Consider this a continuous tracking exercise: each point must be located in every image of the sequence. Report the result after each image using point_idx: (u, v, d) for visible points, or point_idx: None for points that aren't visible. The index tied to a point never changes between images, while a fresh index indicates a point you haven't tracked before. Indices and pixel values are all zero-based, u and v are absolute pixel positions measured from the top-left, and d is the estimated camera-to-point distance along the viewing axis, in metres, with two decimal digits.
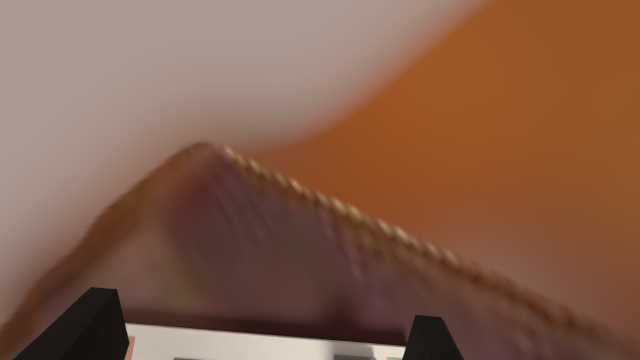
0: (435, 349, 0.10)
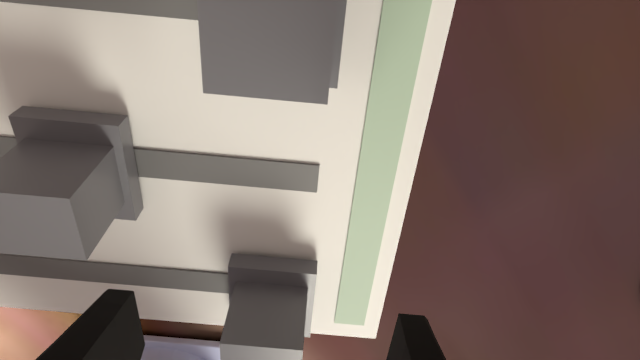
0: (416, 347, 0.10)
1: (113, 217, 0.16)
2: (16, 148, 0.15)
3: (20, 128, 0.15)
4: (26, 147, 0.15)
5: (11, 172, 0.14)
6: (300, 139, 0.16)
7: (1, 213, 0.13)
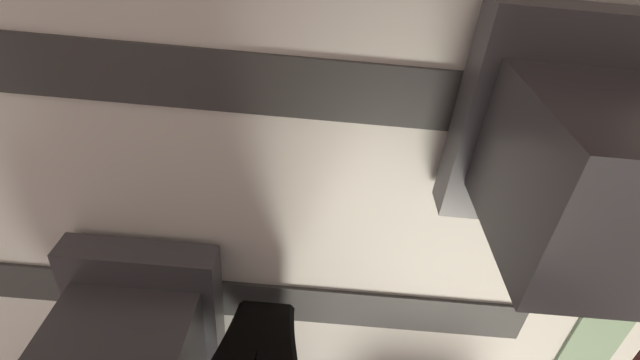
0: (268, 335, 0.10)
1: None
2: (60, 305, 0.10)
3: (64, 271, 0.10)
4: (74, 302, 0.10)
5: None
6: None
7: None
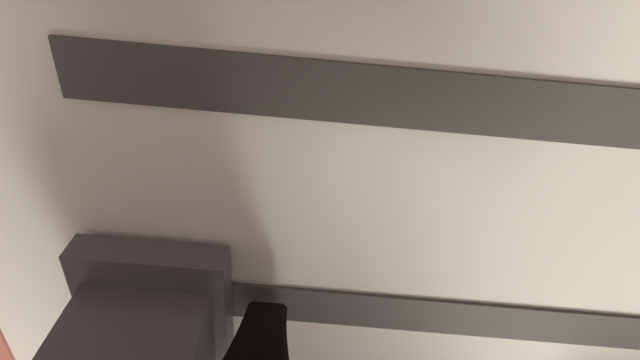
0: (260, 334, 0.10)
1: None
2: (71, 307, 0.10)
3: (75, 272, 0.10)
4: (86, 304, 0.10)
5: None
6: None
7: None
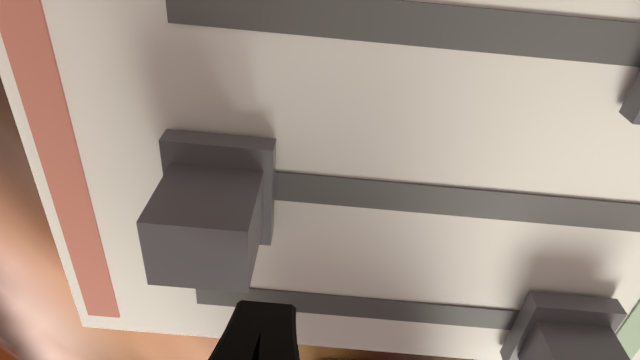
0: (270, 335, 0.10)
1: (258, 244, 0.15)
2: (168, 174, 0.14)
3: (168, 153, 0.14)
4: (177, 173, 0.14)
5: (175, 202, 0.13)
6: None
7: (171, 246, 0.13)
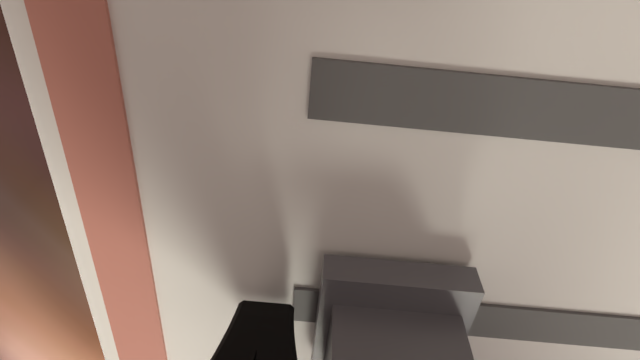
0: (268, 335, 0.10)
1: None
2: (338, 329, 0.10)
3: (333, 293, 0.10)
4: (350, 325, 0.10)
5: None
6: None
7: None
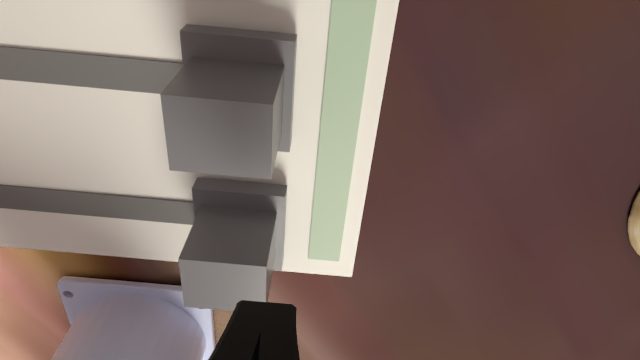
0: (270, 335, 0.10)
1: (279, 142, 0.15)
2: (189, 64, 0.14)
3: (189, 45, 0.14)
4: (198, 64, 0.14)
5: (199, 82, 0.13)
6: None
7: (194, 123, 0.12)
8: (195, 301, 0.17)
